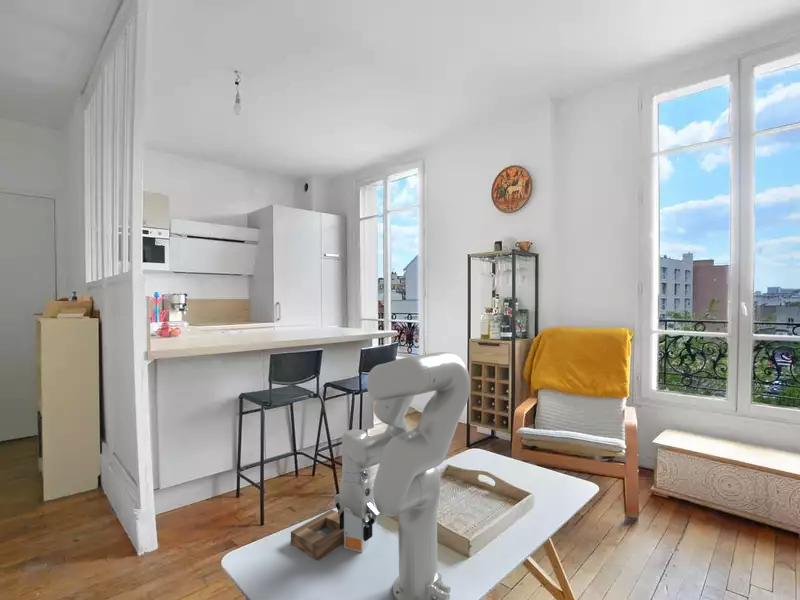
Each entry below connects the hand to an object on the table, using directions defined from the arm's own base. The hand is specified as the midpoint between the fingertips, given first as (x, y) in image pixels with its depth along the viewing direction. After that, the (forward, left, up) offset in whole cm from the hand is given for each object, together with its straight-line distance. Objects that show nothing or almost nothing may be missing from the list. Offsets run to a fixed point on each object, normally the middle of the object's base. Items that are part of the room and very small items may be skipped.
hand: (355, 532), depth 122 cm
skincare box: (0, 0, -4) cm, 4 cm away
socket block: (+10, +3, -4) cm, 11 cm away
